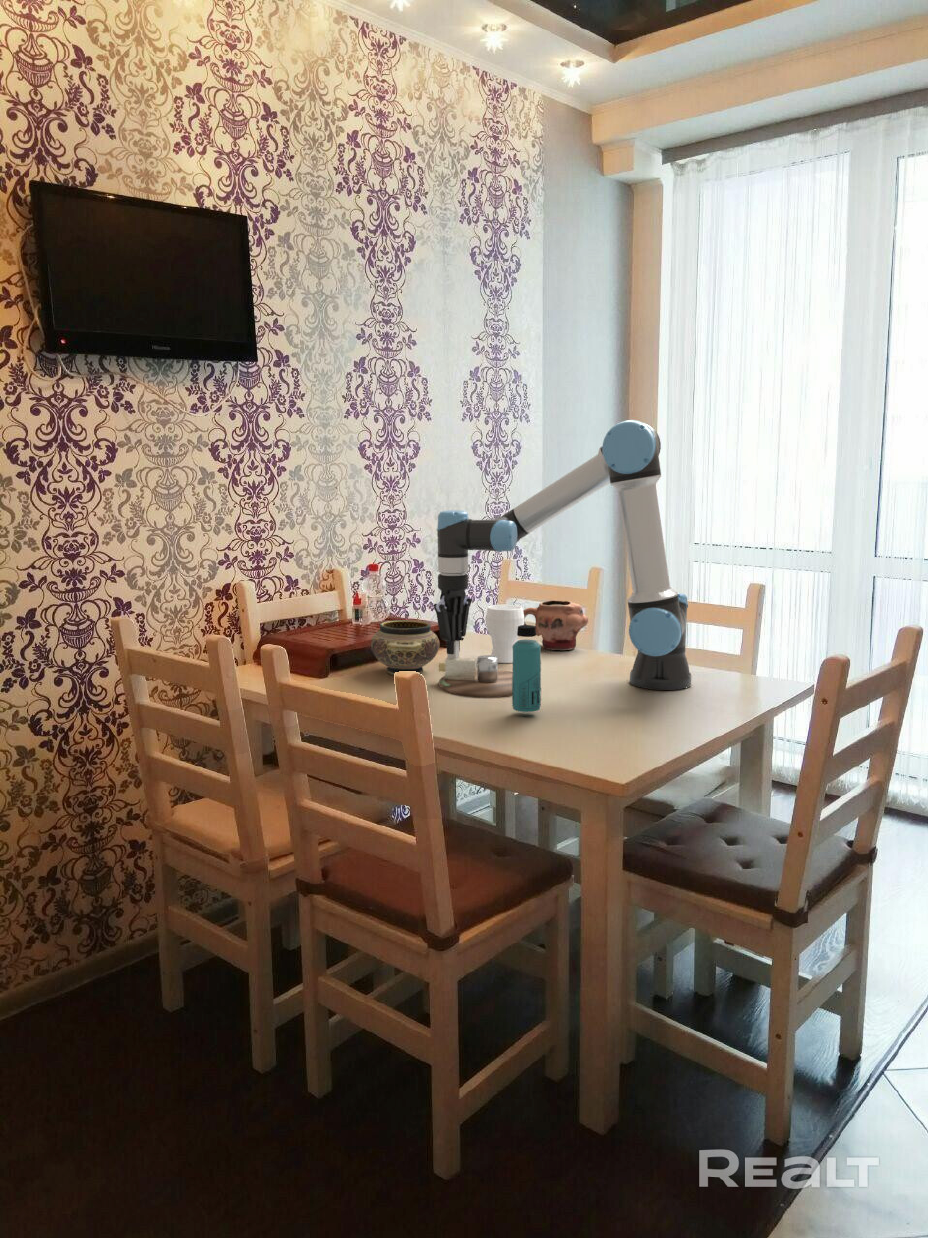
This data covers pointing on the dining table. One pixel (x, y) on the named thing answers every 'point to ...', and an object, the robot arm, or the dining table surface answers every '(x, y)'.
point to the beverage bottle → (526, 671)
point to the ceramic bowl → (405, 645)
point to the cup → (504, 629)
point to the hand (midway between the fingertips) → (453, 665)
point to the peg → (471, 668)
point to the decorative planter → (558, 623)
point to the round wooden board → (480, 686)
